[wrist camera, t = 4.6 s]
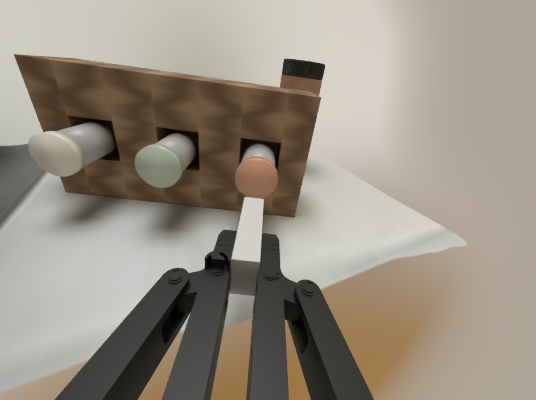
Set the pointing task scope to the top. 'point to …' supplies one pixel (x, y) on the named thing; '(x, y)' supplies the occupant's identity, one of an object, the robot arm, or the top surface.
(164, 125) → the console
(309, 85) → the travel mug
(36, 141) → the cream button
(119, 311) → the top surface
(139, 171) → the sage button
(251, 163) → the terracotta button
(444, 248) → the top surface
